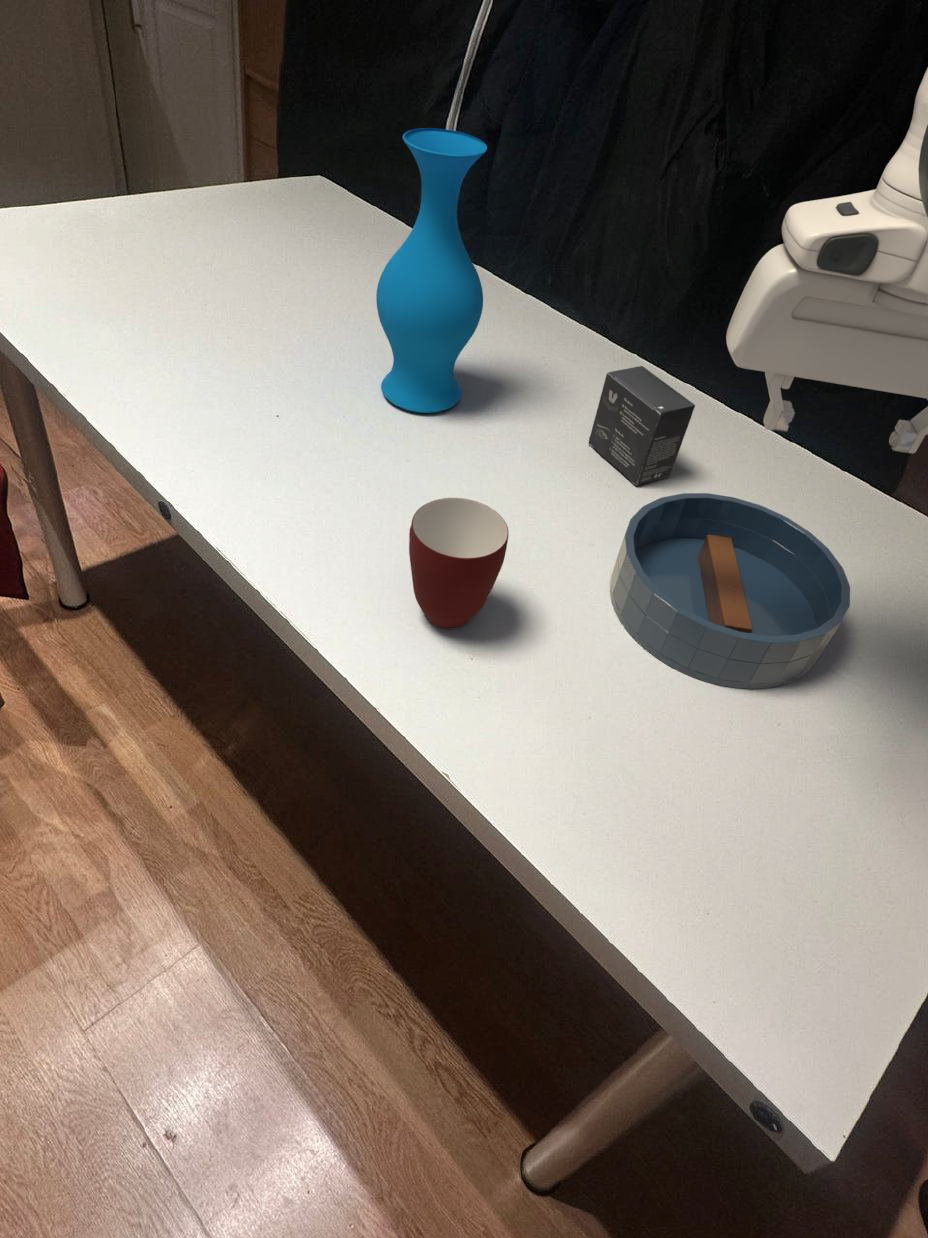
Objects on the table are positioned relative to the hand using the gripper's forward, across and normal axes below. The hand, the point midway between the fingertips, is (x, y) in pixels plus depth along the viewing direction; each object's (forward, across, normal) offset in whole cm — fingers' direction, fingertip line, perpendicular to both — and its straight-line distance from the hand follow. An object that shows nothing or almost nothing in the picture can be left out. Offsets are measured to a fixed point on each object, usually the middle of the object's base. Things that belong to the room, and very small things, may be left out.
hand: (837, 437), depth 61 cm
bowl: (+22, +1, -5) cm, 23 cm away
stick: (+21, +1, -5) cm, 22 cm away
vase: (+21, +35, -35) cm, 54 cm away
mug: (+22, +28, +1) cm, 35 cm away
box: (+22, +9, -28) cm, 37 cm away
